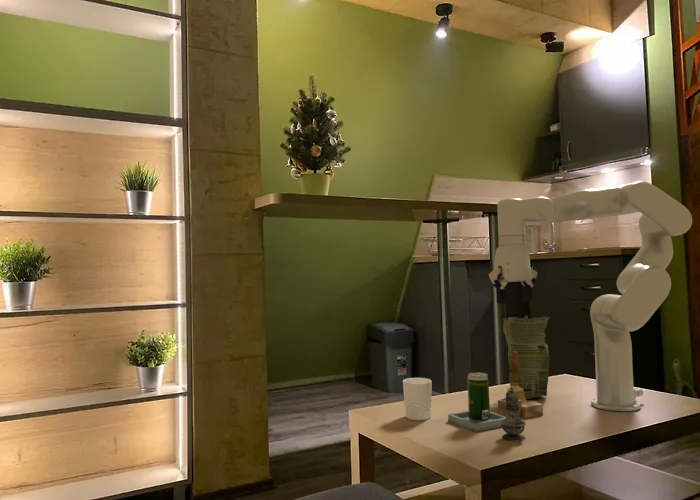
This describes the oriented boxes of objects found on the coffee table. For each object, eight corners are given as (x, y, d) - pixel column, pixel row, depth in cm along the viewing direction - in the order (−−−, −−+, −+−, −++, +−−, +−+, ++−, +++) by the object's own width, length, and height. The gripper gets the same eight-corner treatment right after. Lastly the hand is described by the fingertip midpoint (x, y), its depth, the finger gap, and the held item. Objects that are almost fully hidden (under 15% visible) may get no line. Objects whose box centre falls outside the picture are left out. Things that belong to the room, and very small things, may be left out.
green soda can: (494, 420, 141) (492, 374, 141) (481, 424, 138) (479, 377, 138) (477, 416, 145) (476, 371, 146) (464, 420, 142) (463, 374, 142)
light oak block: (533, 411, 151) (532, 401, 151) (543, 415, 147) (542, 404, 148) (515, 414, 149) (515, 403, 149) (525, 418, 145) (524, 407, 145)
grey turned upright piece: (497, 434, 132) (495, 384, 132) (520, 433, 132) (518, 383, 132) (506, 442, 126) (504, 390, 126) (530, 441, 126) (528, 389, 127)
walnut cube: (507, 413, 150) (506, 397, 150) (522, 416, 146) (521, 400, 146) (498, 417, 147) (497, 400, 147) (512, 420, 143) (512, 403, 143)
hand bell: (504, 402, 161) (502, 349, 161) (533, 405, 157) (531, 350, 158) (498, 409, 154) (496, 353, 154) (528, 412, 150) (526, 354, 150)
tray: (480, 414, 149) (480, 408, 149) (509, 424, 139) (508, 417, 139) (448, 421, 144) (448, 414, 144) (475, 431, 134) (475, 424, 134)
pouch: (502, 395, 169) (499, 315, 170) (525, 389, 176) (522, 312, 177) (532, 402, 160) (529, 317, 161) (556, 395, 167) (552, 314, 168)
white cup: (435, 414, 151) (433, 378, 151) (429, 422, 143) (428, 384, 144) (407, 412, 153) (406, 377, 154) (400, 420, 146) (399, 382, 146)
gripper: (525, 242, 162) (527, 300, 161) (479, 243, 154) (482, 303, 153) (544, 241, 155) (546, 301, 155) (498, 241, 147) (500, 304, 147)
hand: (514, 302), depth 154 cm, fingers open, 9 cm apart
